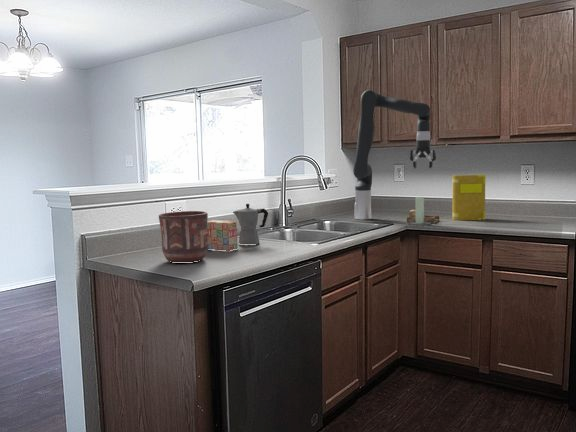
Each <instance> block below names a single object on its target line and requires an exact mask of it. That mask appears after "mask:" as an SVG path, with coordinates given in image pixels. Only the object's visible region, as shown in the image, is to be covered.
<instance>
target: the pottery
mask: <svg viewBox="0 0 576 432" xmlns="http://www.w3.org/2000/svg"><path fill="white" fill-rule="evenodd" d="M208 217H209V215H208V212H207V211H203V210H202V211H200V210H198V211H197V210H188V211H186V210H185V211H184V210H182V211H173V212H165V213H164V212H163V213H160V214H158V220H159V227H160V236H161V237H160V238H161V250H162V254H163V256H164V258H165V259H166V260H167V261H168V262H169V261H171V262H194V261H199V260H202V261H203V260H204V258H205V257H206V255H207V254H208V251H207V250H208V239H207V221H208V219H209V218H208Z"/></svg>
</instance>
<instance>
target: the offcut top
mask: <svg viewBox="0 0 576 432" xmlns="http://www.w3.org/2000/svg"><path fill="white" fill-rule="evenodd" d="M409 216H416V209H411V210H409V211H408V217H409Z"/></svg>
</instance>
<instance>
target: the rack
mask: <svg viewBox="0 0 576 432" xmlns="http://www.w3.org/2000/svg"><path fill="white" fill-rule="evenodd" d="M412 222H416V217H409V216H407V217H406V223H408V224H409V223H412ZM424 222H427V223H431V224H433V225H435V224H437V223H438V222H440V215H426V214H424Z"/></svg>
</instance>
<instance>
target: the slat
mask: <svg viewBox="0 0 576 432" xmlns="http://www.w3.org/2000/svg"><path fill="white" fill-rule="evenodd" d="M415 210H416V224H423V223H424V215H425V197H424V196H416V197H415Z"/></svg>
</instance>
